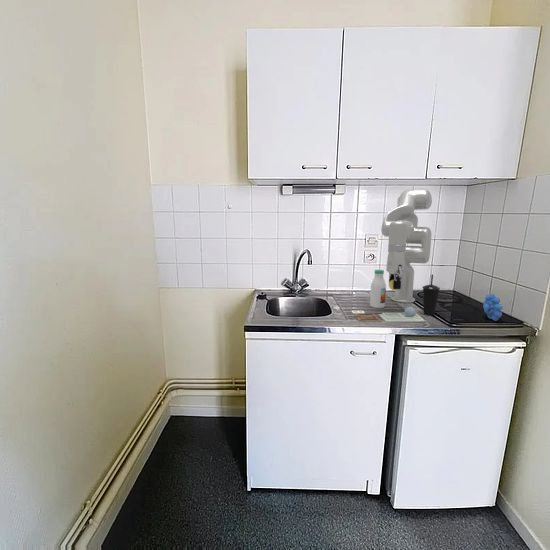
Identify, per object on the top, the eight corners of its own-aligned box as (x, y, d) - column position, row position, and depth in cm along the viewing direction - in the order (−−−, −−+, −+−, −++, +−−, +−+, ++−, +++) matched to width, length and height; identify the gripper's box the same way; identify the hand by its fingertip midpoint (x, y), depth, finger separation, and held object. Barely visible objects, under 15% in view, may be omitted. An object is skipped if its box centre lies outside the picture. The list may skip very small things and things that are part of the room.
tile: (351, 311, 156) (351, 310, 156) (362, 311, 156) (362, 310, 156) (353, 313, 153) (353, 312, 152) (365, 313, 152) (365, 312, 152)
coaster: (354, 315, 150) (354, 313, 150) (374, 315, 150) (374, 313, 150) (359, 321, 140) (359, 319, 140) (381, 321, 140) (381, 319, 140)
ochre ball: (387, 288, 145) (387, 278, 144) (397, 288, 145) (398, 278, 144) (390, 291, 140) (391, 280, 139) (401, 291, 140) (402, 280, 139)
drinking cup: (416, 312, 153) (419, 273, 149) (428, 311, 155) (431, 272, 152) (429, 317, 146) (432, 276, 142) (441, 315, 148) (445, 275, 145)
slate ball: (402, 315, 147) (402, 305, 146) (412, 315, 147) (413, 305, 146) (406, 318, 142) (407, 308, 141) (417, 318, 142) (418, 308, 141)
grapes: (474, 315, 148) (476, 291, 146) (488, 315, 148) (491, 291, 145) (489, 323, 136) (492, 297, 134) (505, 323, 136) (508, 297, 134)
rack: (378, 314, 150) (378, 312, 150) (415, 314, 149) (415, 311, 149) (385, 321, 140) (385, 318, 140) (425, 321, 140) (425, 318, 139)
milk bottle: (375, 309, 160) (377, 271, 156) (367, 305, 167) (368, 269, 164) (387, 307, 162) (390, 270, 158) (379, 304, 169) (381, 268, 166)
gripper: (382, 247, 147) (380, 284, 151) (395, 250, 131) (392, 291, 134) (398, 247, 147) (395, 284, 150) (413, 250, 131) (410, 291, 134)
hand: (394, 287), depth 142 cm, fingers closed on ochre ball, 4 cm apart
